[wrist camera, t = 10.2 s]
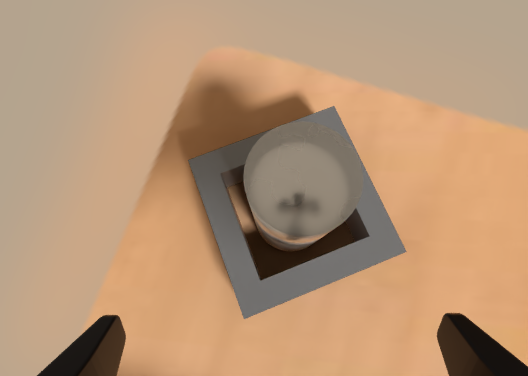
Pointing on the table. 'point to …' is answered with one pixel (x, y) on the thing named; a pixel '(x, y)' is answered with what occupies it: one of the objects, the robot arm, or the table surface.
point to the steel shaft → (301, 183)
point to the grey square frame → (305, 274)
